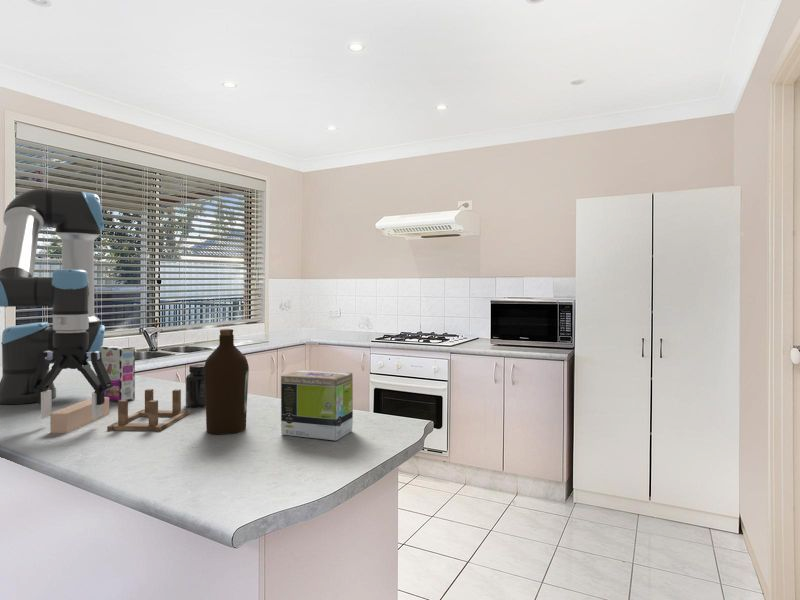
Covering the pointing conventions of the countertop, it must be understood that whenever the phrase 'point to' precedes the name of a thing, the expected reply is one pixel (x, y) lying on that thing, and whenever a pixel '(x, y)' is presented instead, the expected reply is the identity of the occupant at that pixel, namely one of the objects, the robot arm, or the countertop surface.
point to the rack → (149, 414)
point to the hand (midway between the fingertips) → (71, 417)
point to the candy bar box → (119, 371)
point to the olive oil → (226, 387)
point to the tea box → (317, 404)
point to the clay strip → (75, 416)
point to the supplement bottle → (195, 387)
